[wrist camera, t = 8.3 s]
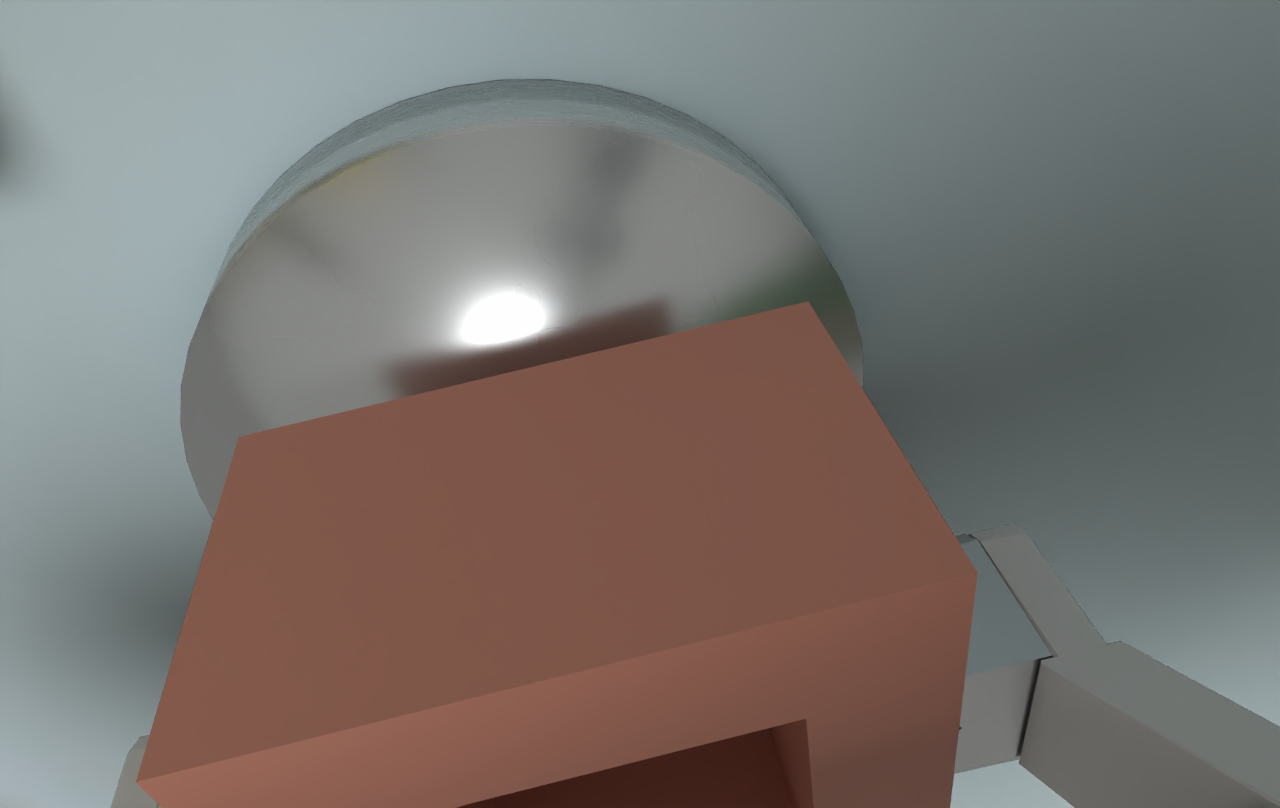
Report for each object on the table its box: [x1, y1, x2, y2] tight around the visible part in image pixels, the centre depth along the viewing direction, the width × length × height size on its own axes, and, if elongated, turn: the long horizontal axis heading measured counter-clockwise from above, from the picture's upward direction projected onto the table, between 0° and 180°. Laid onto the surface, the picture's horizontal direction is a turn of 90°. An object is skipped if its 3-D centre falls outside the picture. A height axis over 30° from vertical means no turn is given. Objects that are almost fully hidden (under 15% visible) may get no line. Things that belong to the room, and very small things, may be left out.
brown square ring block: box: [136, 302, 978, 808], centre depth 10 cm, size 6×6×4 cm
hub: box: [181, 80, 864, 520], centre depth 12 cm, size 9×9×4 cm
